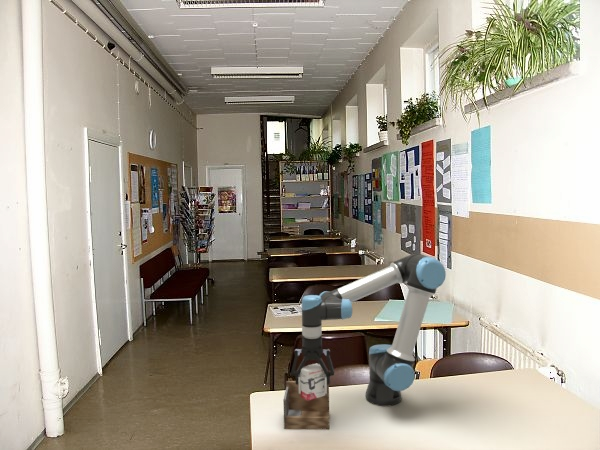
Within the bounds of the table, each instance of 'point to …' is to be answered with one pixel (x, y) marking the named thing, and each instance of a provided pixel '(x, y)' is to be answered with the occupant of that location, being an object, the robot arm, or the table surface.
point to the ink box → (312, 382)
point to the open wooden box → (304, 409)
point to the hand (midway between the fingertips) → (312, 392)
